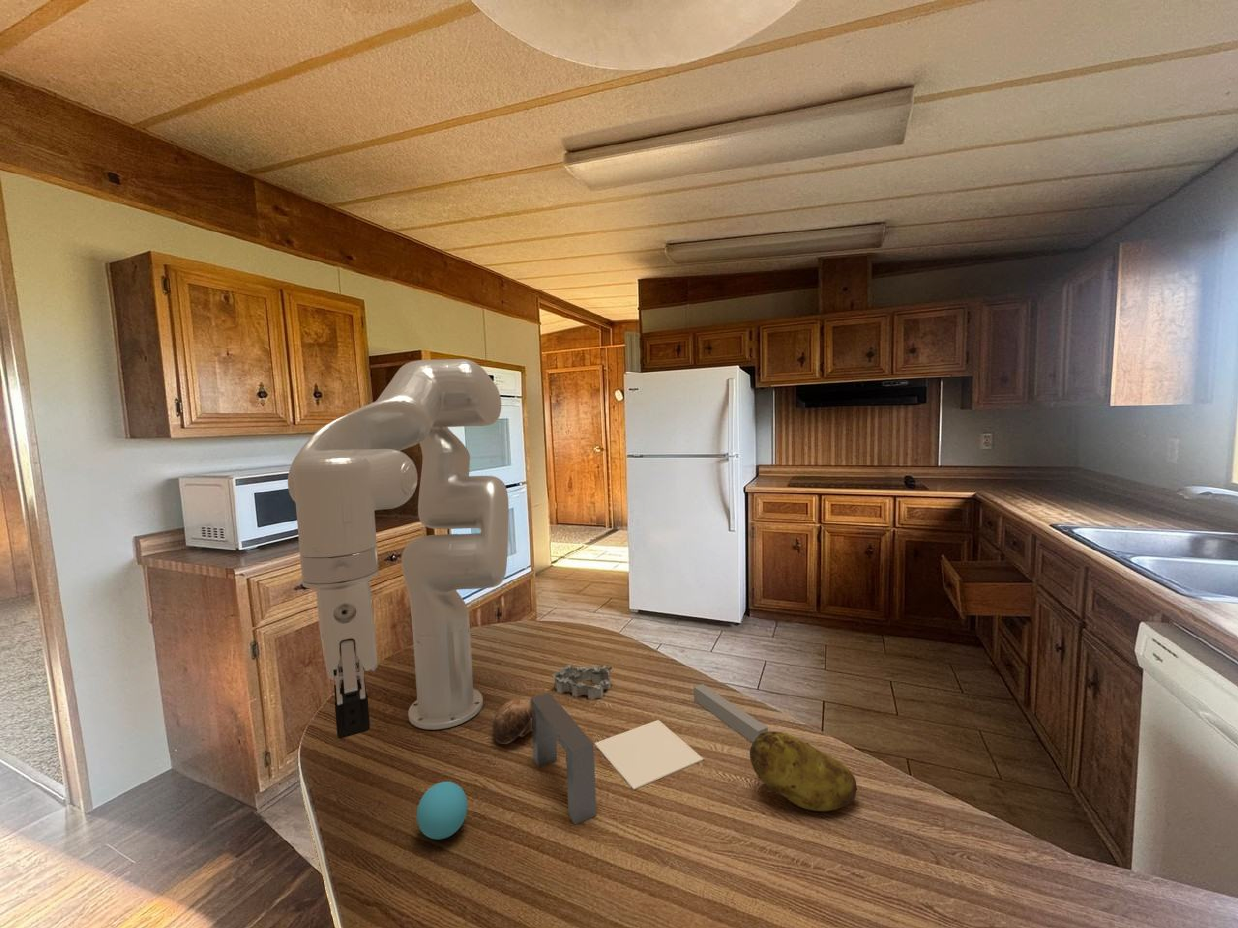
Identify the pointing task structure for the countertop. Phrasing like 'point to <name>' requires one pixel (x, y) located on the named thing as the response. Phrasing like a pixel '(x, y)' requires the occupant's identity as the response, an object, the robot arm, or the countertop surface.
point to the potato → (802, 772)
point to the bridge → (579, 749)
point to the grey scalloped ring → (572, 679)
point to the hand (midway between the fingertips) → (352, 722)
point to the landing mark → (647, 753)
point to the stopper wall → (729, 713)
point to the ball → (442, 810)
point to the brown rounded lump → (512, 720)
